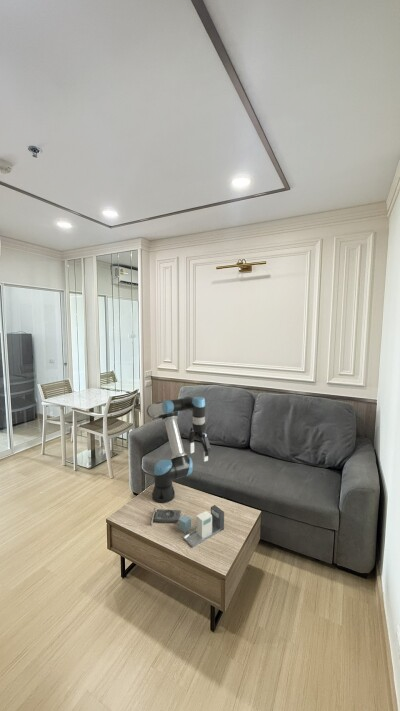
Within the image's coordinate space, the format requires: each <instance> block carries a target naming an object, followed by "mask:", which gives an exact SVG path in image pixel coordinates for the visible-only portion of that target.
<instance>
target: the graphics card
mask: <svg viewBox="0 0 400 711" xmlns="http://www.w3.org/2000/svg"><path fill="white" fill-rule="evenodd" d="M180 518H181V510H180V509H164V508H163V509H157V508H156V507H153V515H152V519H151V524H154V523H156V524H160V523H175V522H178V523H179V519H180Z"/></svg>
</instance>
